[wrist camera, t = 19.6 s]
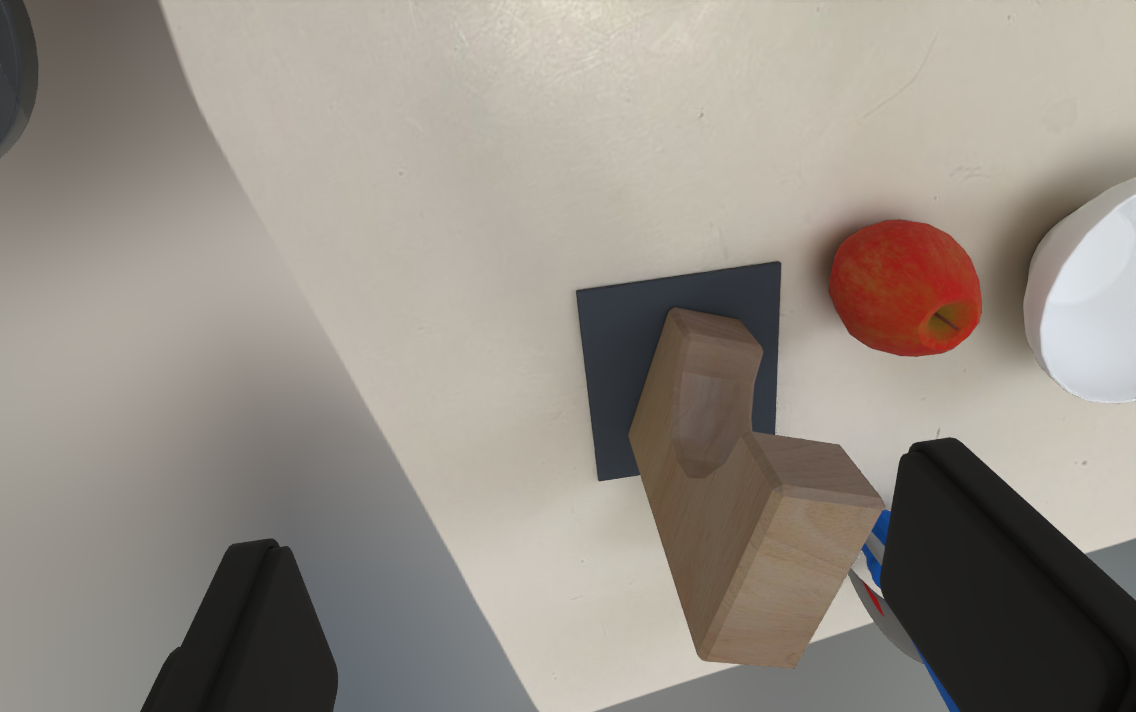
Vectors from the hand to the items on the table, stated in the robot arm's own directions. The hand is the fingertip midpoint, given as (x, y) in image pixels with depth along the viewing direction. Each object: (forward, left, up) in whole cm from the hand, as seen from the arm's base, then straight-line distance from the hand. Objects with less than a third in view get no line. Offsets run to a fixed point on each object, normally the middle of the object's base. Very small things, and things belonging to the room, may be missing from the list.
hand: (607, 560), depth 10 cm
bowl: (+38, -13, -35) cm, 53 cm away
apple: (+22, -11, -35) cm, 42 cm away
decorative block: (+9, -17, -34) cm, 39 cm away
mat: (+9, -18, -34) cm, 40 cm away
